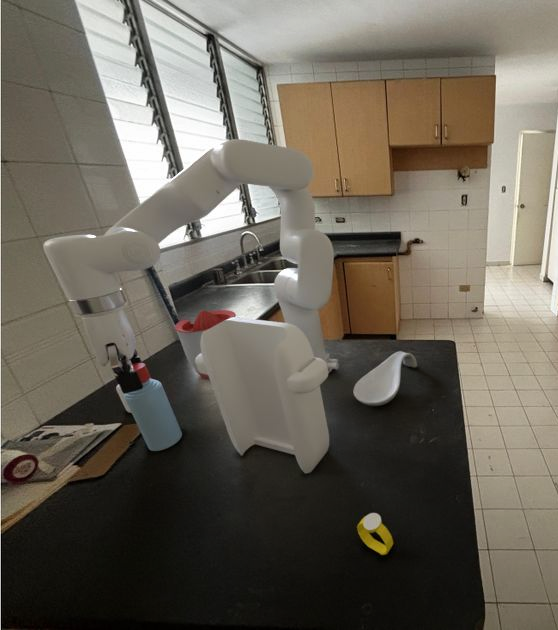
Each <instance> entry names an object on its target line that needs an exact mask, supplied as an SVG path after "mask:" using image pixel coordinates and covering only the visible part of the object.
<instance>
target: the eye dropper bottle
mask: <svg viewBox="0 0 558 630" xmlns="http://www.w3.org/2000/svg"><path fill="white" fill-rule="evenodd" d="M115 390H116V393H117V394H118V396H119V398H120V401H121V403H122V405H123V407H124V408H125V411H126V412H127V413H129V414H132V412H131V410H130V408H129V406H128V404H127V402H126V400H125V398H124V395H125V394H124V393H123V392H122V390H121V388H120V386H119V384H117V385H116V387H115Z"/></svg>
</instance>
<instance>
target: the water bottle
mask: <svg viewBox="0 0 558 630" xmlns="http://www.w3.org/2000/svg"><path fill="white" fill-rule="evenodd" d="M142 384H143V388H142V389H140V390H136V391H133V392H130V393H126V394H125V395H124V398H125V400H126V402H127V404H128V406H129V408H130V410H131V412H132V413H131V414H132V416H133V419H134V420H135V423H136V425H137V427H138V429H139V431H140V434H141V436H142V438H143V439H144V442H145V444H146V446H147V448H148V450H150V451H151V452H159V451H163V450H166V449H169V448H170V447H172V446H174V445H175V444H177V443H178V442H179V441H180V440H181V438H182V437H183V432H182V430H181V428H180V425H179V423H178V420H177V418H176V415H175V413H174V410H173V408H172V406H171V404H170V401H169V398H168V396H167V394H166V391H165V389H164V386H163V384H162V382H160V381H159V380H157V379H153V378H150V379H149V380H148V381H146V382H144V383H142Z"/></svg>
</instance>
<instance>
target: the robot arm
mask: <svg viewBox="0 0 558 630" xmlns="http://www.w3.org/2000/svg"><path fill="white" fill-rule="evenodd" d="M314 177H315V169H314V164H313V162H312V161H311V158H309V157H308V156H307V154H306V153H304V152H303V151H301V150H299V149H296V148H292V147H286V146H280V145H274V144H269V143H263V142H258V141H253V140H247V139H240V138H233V139H228V140H225V141H220V142H217V143H215V144H214V145H212V146H210V147H209V148H208V149H207V150H205V151H204V152H203V153H202V154H201V155H199V156H198V157H197V158H196V159H194V160H193V161H192V162H191V163H190V164H188V165H187V166H186V167H185V168H183V170H181V171H180V172H179V173H178V174H176V175H175V176H174V177H172V178H171V179H170V180H169V181H168V182H167V183H165V184H164V185H163V186H161V187H160V188H159V189H158V190H156V191H155V192H154V193H152V195H150V196H149V197H148V198H146V199H145V200H143V202H141V203H140V204H138V205H137V206H135V208H133V209H132V210H130V211H129V212H128V213H127V214H126V215H124V216H123V217H122V218H121V219H119V220H118V221H117V222H115V224H114V225H112V226H111V227H110V228H108V230H107V231H105V233H104V234H103V235H98V236H97V235H93V234H71V235H65V236H59V237H53V238H50V239H49V238H48V239H47V240H45V241H44V243H43V245H42V247H43V251H44V253H45V257H46V258H47V260H48V263H49V264H50V266H51V268H52V270H53V272H54V274H55V276H56V278H57V281H58V283H59V285H60V287H61V288H62V290H63V293H64V295H65V297H66V299H67V301H68V303H69V306H70V307H71V310H72V311H73V313H74V316H75V317H76V318H81V320H82V324H83V327H84V331H85V333H86V336H87V339H88V340H89V343H90V345H91V348H92V350H93V353H94V355H95V358H96V361H97V362H98V364H99V365H100V366H101V367H106V366H107V365H108V364H110V369H111V370H112V372H113V375H114V377H115V380H116V381H117V385H119V386H120V388H121V390H122V392H123V393H124V394H126V393H130V392H133V391H136V390H140V389H142V388H143V384H142V382H141V380H140V378H139V375H138V373H137V371H134V369H133V366H132V364H135V363H143V362H142V359H141V357H140V356H139V353H138V351H137V349H136V347H137V340H136V337H135V334H134V331H133V329H132V326H131V323H130V321H129V319H128V317H127V315H126V313H125V310H124V308H126V307H127V306H128V302H127V299H126V296H125V295H124V294H125V293H124V292H123V289H122V287H121V285H120V283H119V280H118V278H117V275H116V273H119V272H135V271H143V270H147V269H150V268H152V267H153V266H155V265H156V264H157V263H158V261H160V258H161V253H162V252H161V247H160V243H162V242H163V241H164V240H165V239H166V238H167V237H168V236H170V235H171V234H173V233H174V232H176V231H177V230H179V229H180V228H182V227H185V226H186V225H189V224H192V223H194V222H198V221H199V220H202V219H203V218H206V217H207V216H208V215H209V214H211V212H212V211H214V210H215V209H216V208H217V207H218V206H219V205H220V204H221V203H222V202H223V201H224V200H226V198H228V197H229V196H230V195H231V194H232V193H233V192H235V191H236V190H237V189H238V188H239V187H240V186H241V185H254V186H261V187H269V189H270V190H271V191H272V192H273V193H274V195H275V196H276V198H277V200H278V203H279V208H280V235H279V251H280V255H281V256H282V257H283V258H284V259H285V260H286V261H288V262H290V263H292V264H295V265H297V267H287V268H285V269H282V270H281V271H280V272H278V274H277V275H276V277H275V278H274V282H273V289H274V293H275V297H276V299H277V302H278V304H279V307H280V310H281V313H282V316H283V321H284V323H288V324H292V325H295V326H296V327H298V328H299V329H300V330H301V331H302V332H303V333H304V334H305V336H306V337H307V339H308V341H309V343H310V346H311V348H312V351H313V355H314V357H316V358H320V359H322V360H324V361H325V362H326V364H327V368H328V374H330V373H331V372H332V371H333V370H339V368H340V364H339V359H338V358H332V357H331V356H330V353H328V352H326V346H325V340H324V335H323V329H322V323H321V317H320V313H319V310H321V309H323V308H324V307H325V306H327V304H328V303H329V300H330V297H331V295H332V287H333V275H334V274H333V273H334V259H335V253H334V247H333V244H332V241H331V240H330V238H329V237H328V235H326V234H325V233H324V232H322V231H320V230H317V229H316V207H315V202H314V198H313V195H312V194H311V192H310V190H309V188H308V187H309V185H311V184H312V183H313V182H312V181H313V179H314ZM127 366H128V367H127Z"/></svg>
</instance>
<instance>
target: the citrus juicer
mask: <svg viewBox="0 0 558 630" xmlns="http://www.w3.org/2000/svg"><path fill="white" fill-rule="evenodd" d="M236 314H237V313H236V312H234V311H233V310H229V309H228V310H227V309H218V310H209V311H207V310H205V309H203V310H201V311H200V312H199V313H198V315H197V316H196V317H195V320H194V321H193V323H192V322H191V320H189V319H187V318H184V319H181V320H180V321H178V322H177V323H176V324H175V325H174V330H175V331H176V333H177V335H178V338H179V341H180V343H181V346H182V348H183V352H184V355H185V357H186V359H187V361H188V363H189V364H190V366H191V367H192V368H193V370H194V371H195V372H196V373H197V375H199V376H200V377H201V378H203V379H209V376H208V375H205V374H202V373H200V372H199V371H198V369H197V366H196V363H195V359H196V357H197V356H198V355H199V354H200V353H201V347H200V340H201V335H202V333H203V332H204V331H205V330H208V329H210V328H212V327H213V326H215V325H217V324H219V323H221V322H223V321H225V320H227V319H229V318H232V317H237V316H236ZM209 380H210V379H209Z"/></svg>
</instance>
